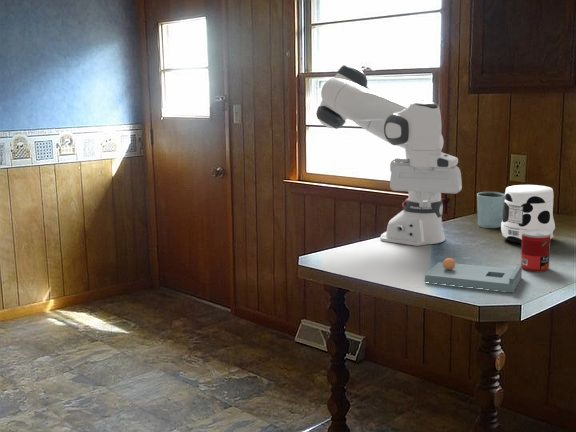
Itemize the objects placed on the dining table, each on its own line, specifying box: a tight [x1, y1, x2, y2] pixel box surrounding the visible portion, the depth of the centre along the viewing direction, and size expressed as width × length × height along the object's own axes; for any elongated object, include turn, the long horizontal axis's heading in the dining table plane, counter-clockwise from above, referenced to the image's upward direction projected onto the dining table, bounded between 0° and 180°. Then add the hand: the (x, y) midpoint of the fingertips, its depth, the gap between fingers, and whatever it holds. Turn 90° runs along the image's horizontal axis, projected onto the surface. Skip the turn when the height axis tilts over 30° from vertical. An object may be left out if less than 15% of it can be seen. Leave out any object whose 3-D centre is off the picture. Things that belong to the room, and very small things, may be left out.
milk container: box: [500, 184, 556, 244], centre depth 233 cm, size 17×17×18 cm
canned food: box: [520, 230, 551, 273], centre depth 203 cm, size 8×8×11 cm
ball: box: [442, 257, 456, 270], centre depth 198 cm, size 4×4×4 cm
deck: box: [424, 261, 523, 293], centre depth 195 cm, size 24×14×4 cm, turn 63°
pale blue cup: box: [476, 191, 505, 229], centre depth 257 cm, size 10×10×12 cm
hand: (425, 207), depth 197 cm, fingers closed
